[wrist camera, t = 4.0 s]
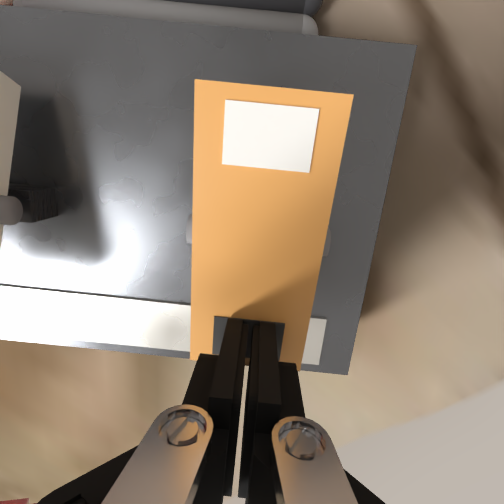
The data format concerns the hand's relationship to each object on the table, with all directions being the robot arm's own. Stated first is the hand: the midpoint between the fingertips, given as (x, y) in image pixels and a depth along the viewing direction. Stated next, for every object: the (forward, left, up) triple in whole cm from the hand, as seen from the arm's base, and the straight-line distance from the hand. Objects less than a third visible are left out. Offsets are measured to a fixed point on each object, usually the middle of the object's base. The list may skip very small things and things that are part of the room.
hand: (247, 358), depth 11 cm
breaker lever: (-4, 0, -1) cm, 4 cm away
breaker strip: (-4, -5, -8) cm, 10 cm away
